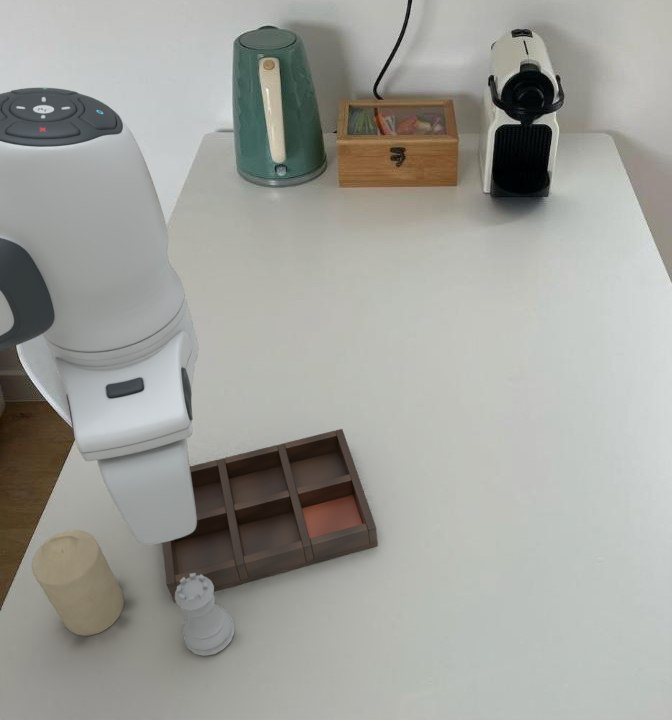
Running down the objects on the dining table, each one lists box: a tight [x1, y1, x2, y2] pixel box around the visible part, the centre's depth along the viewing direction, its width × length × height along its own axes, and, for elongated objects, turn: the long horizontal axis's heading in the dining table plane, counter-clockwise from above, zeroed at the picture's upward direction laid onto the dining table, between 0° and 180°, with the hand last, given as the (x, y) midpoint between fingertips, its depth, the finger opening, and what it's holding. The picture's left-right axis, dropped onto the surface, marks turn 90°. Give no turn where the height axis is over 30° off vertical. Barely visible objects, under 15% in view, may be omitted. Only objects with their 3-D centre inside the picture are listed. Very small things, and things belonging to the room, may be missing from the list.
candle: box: [31, 529, 125, 637], centre depth 72 cm, size 6×6×10 cm
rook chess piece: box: [175, 573, 235, 657], centre depth 70 cm, size 4×4×8 cm
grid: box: [161, 428, 379, 603], centre depth 81 cm, size 20×13×3 cm
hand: (173, 477), depth 62 cm, fingers open, 8 cm apart
